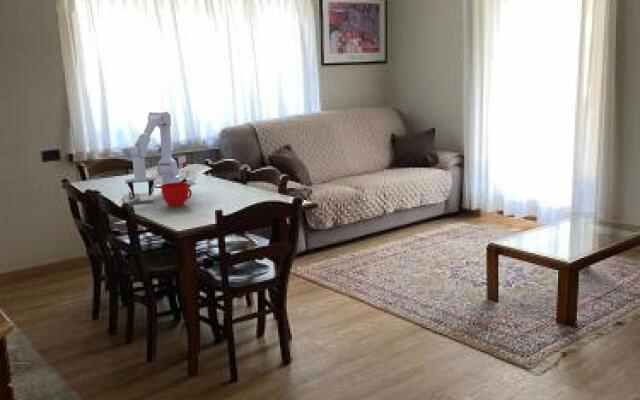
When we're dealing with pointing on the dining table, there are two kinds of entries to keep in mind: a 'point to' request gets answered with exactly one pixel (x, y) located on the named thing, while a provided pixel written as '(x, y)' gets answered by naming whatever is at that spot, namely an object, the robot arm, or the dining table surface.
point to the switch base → (143, 199)
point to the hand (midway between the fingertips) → (141, 196)
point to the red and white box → (180, 161)
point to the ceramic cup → (175, 193)
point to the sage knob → (137, 196)
